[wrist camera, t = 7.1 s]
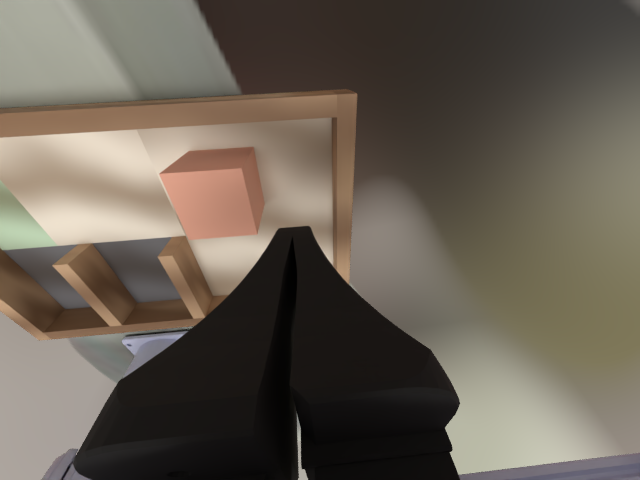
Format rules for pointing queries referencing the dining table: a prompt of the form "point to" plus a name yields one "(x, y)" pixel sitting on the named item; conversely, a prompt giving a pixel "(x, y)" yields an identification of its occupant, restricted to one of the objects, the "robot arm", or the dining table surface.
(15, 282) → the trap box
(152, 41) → the dining table surface
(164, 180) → the coral block
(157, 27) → the dining table surface
